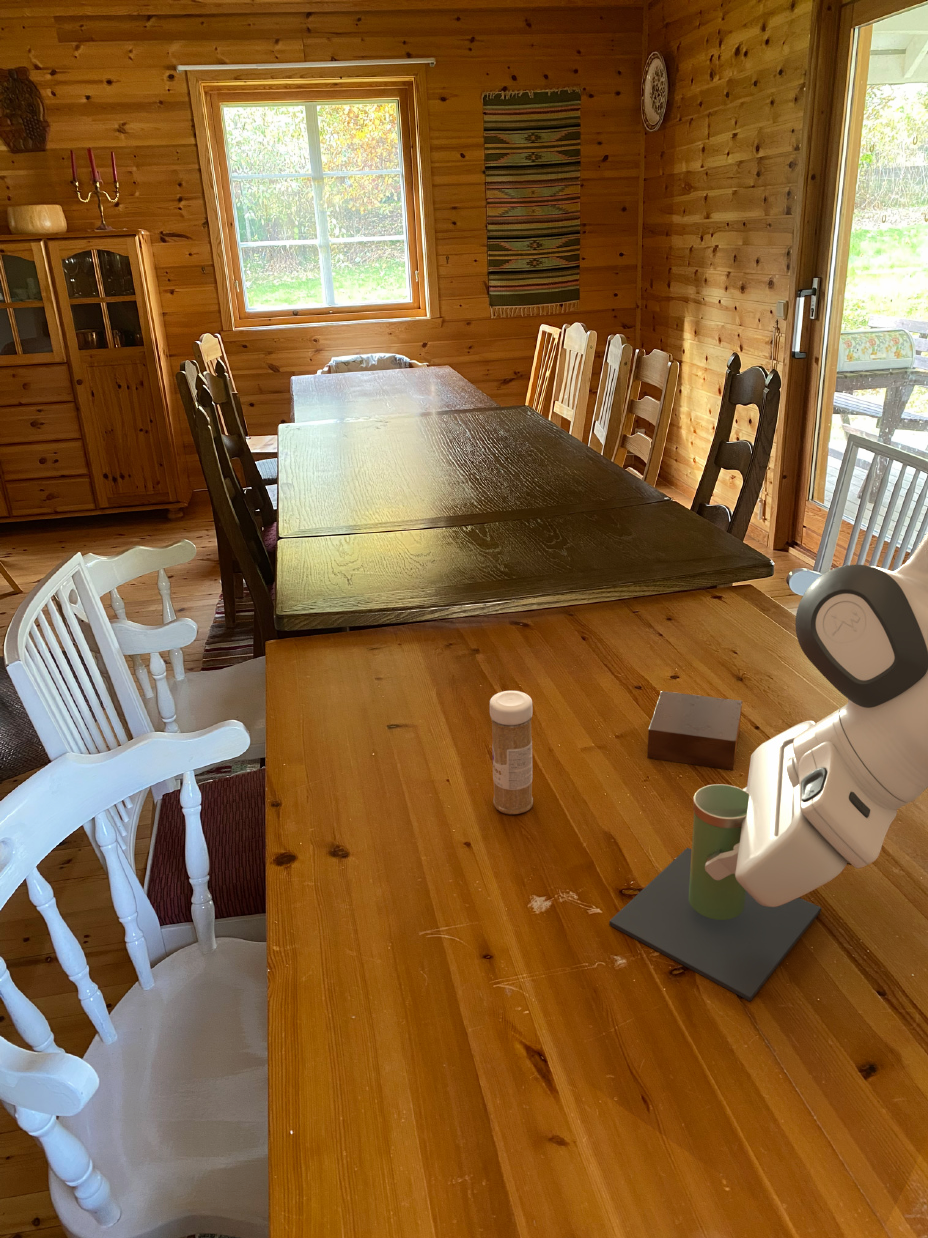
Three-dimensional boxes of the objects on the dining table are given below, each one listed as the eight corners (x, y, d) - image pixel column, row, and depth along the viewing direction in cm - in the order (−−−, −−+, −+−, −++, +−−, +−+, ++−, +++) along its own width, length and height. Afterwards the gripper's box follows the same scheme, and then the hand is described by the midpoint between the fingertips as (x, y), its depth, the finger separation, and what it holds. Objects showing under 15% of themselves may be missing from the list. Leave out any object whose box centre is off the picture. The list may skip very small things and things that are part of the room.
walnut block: (739, 728, 115) (742, 700, 114) (733, 770, 107) (735, 741, 105) (659, 718, 119) (661, 690, 117) (647, 758, 110) (648, 729, 108)
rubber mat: (821, 911, 85) (821, 907, 85) (750, 1002, 76) (750, 997, 75) (687, 851, 94) (687, 847, 94) (609, 925, 85) (609, 921, 84)
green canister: (756, 898, 84) (766, 798, 80) (728, 929, 81) (737, 826, 76) (705, 875, 87) (712, 777, 83) (676, 903, 84) (682, 803, 79)
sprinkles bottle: (488, 797, 104) (484, 692, 99) (526, 789, 105) (524, 686, 100) (499, 820, 100) (496, 712, 95) (539, 812, 101) (538, 705, 96)
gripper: (819, 686, 83) (703, 762, 90) (818, 814, 66) (674, 896, 73) (866, 735, 84) (746, 807, 91) (877, 876, 66) (728, 951, 73)
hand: (714, 848), depth 82 cm, fingers closed on green canister, 5 cm apart
